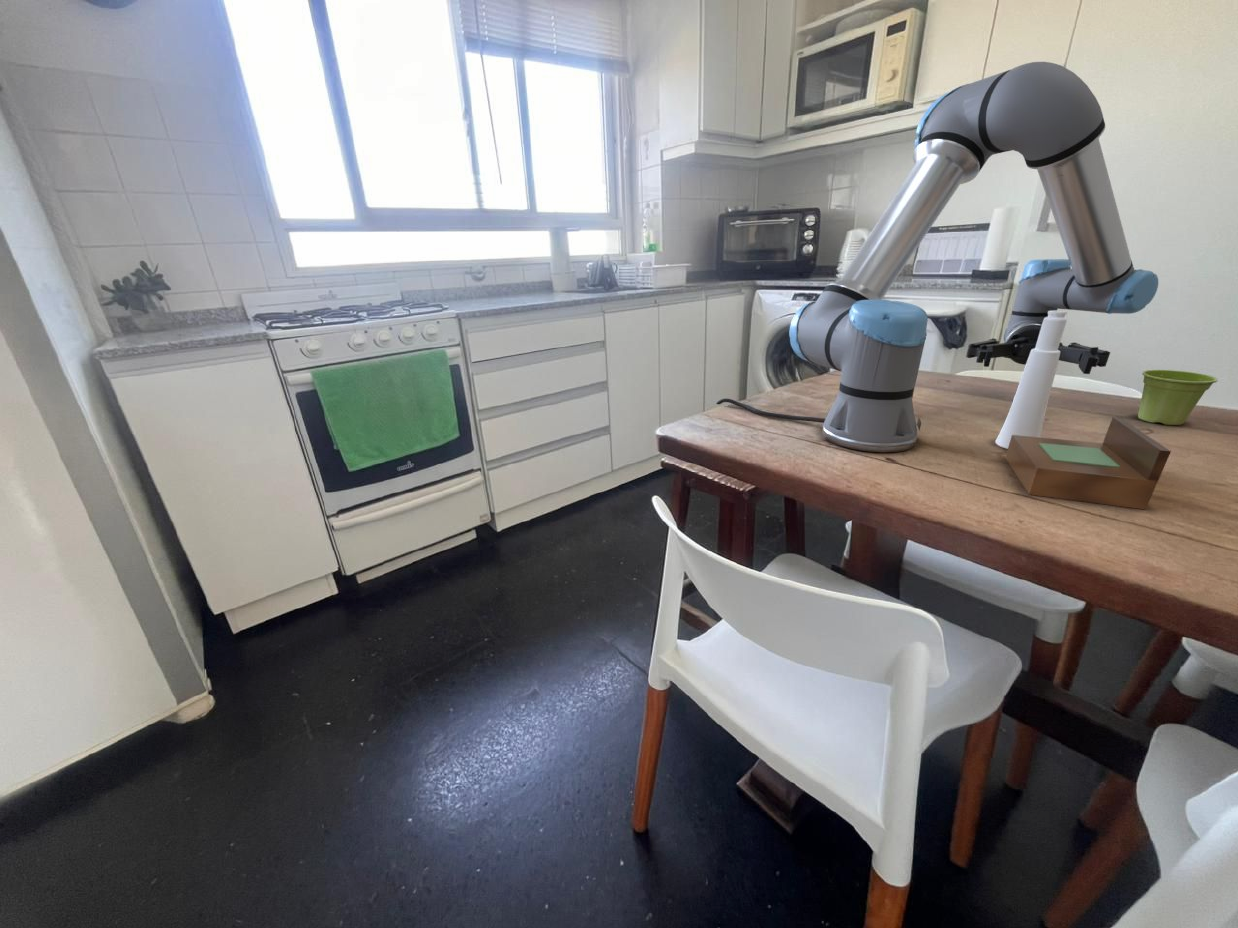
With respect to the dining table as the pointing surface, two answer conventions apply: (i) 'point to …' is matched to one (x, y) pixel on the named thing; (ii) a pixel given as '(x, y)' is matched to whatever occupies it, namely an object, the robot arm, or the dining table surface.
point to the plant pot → (1171, 395)
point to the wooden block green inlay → (1091, 466)
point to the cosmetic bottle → (1035, 383)
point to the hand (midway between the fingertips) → (1036, 362)
